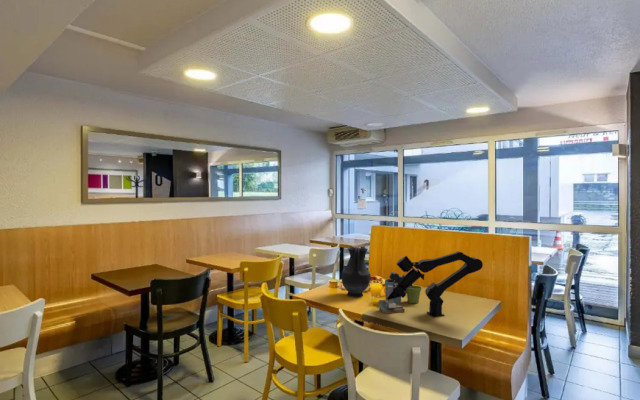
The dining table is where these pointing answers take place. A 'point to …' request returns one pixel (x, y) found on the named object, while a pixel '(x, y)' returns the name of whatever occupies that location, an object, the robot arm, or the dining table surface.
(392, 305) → the carriage
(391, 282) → the drinking glass
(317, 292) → the dining table surface
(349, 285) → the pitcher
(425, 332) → the dining table surface
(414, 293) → the plant pot
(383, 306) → the rail bed
